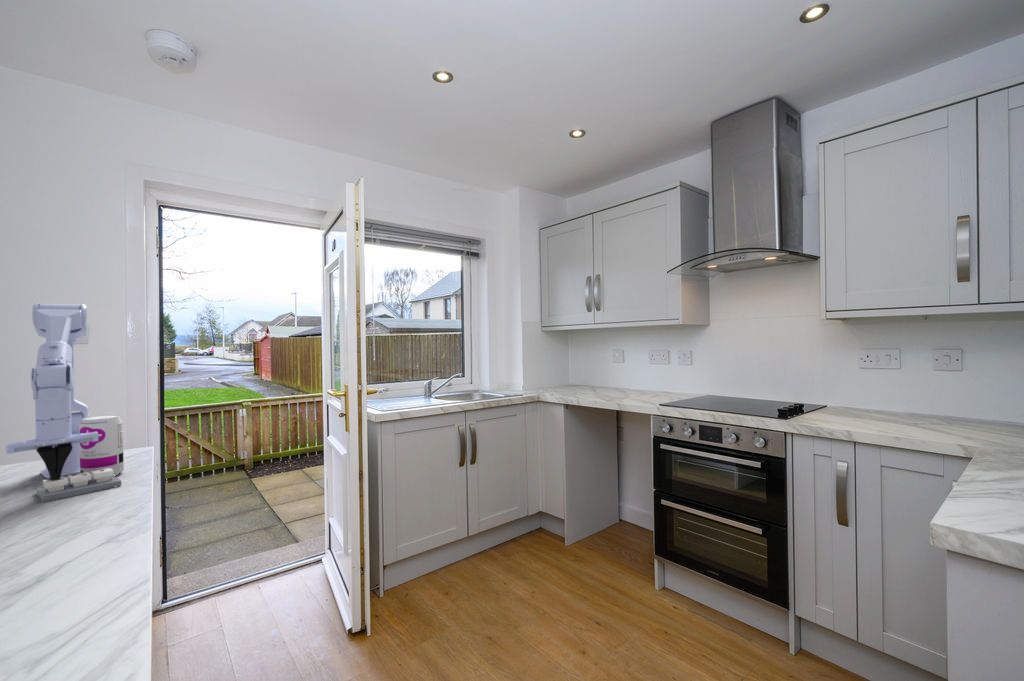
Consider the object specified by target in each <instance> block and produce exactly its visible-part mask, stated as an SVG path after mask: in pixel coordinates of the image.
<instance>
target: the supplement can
mask: <svg viewBox="0 0 1024 681" xmlns="http://www.w3.org/2000/svg"><path fill="white" fill-rule="evenodd" d="M123 424H124V422H123V420H122V419H121V417H120V415H119V414H108V415H107V414H105V415H95V416H90V417H87V418H83V419H82V422H81V423H80V425H79V434H81V433H91V432H97V433H98V441H94V442H92V441H90V442H83V443H79V445H80V473H84V472H89V473H90V474H91V471H95V470H101V469H106V468H111V469H112V470H114V475H117V474H119V473H122V472H123V471H124V470H125V469H124V466H125V463H124V428H123V427H124V425H123ZM114 475H113V476H114ZM119 475H120V474H119ZM117 476H118V475H117ZM91 478H92V477H91Z"/></svg>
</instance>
